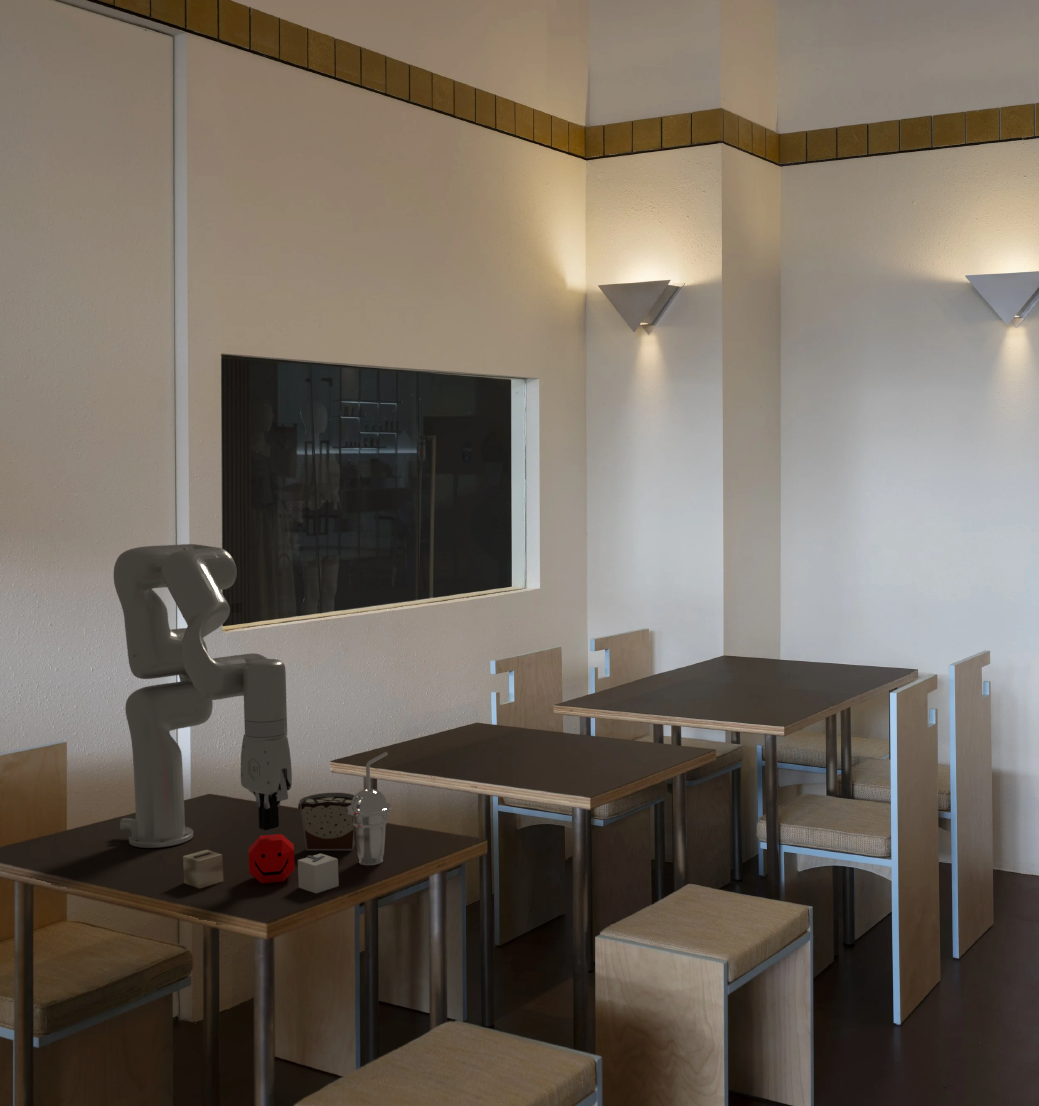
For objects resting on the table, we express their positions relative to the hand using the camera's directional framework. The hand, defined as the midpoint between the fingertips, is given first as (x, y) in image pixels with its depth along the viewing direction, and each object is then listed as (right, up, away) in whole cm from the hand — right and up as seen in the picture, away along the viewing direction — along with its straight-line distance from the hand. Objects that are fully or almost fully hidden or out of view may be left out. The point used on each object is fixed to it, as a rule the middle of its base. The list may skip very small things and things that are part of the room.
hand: (269, 827), depth 221 cm
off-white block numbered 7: (+10, -10, -5) cm, 14 cm away
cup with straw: (+18, -9, +9) cm, 22 cm away
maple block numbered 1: (-12, -10, 0) cm, 15 cm away
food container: (+9, -8, +20) cm, 23 cm away
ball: (+1, -10, 0) cm, 10 cm away
